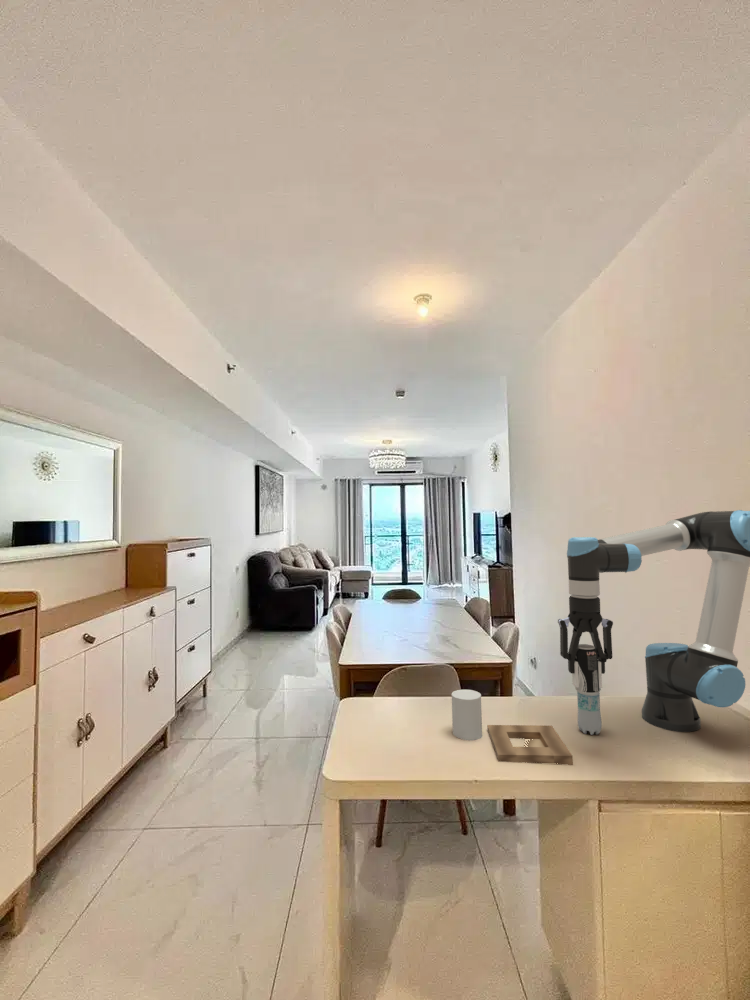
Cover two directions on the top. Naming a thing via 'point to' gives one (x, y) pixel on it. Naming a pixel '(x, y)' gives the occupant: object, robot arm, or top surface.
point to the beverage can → (587, 669)
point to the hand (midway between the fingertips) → (587, 685)
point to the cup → (466, 714)
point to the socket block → (529, 744)
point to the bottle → (589, 713)
